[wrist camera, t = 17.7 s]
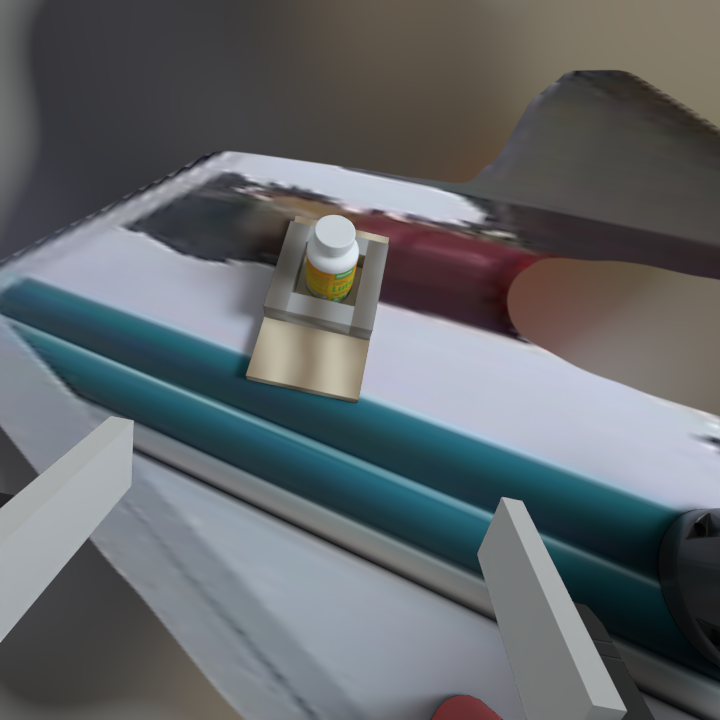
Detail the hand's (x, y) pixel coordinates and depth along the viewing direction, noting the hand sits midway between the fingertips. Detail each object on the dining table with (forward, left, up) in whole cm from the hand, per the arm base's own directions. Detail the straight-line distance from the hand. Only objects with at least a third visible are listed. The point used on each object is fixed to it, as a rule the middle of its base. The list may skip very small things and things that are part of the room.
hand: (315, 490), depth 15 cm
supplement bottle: (+3, -26, -27) cm, 37 cm away
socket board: (+3, -24, -28) cm, 37 cm away
